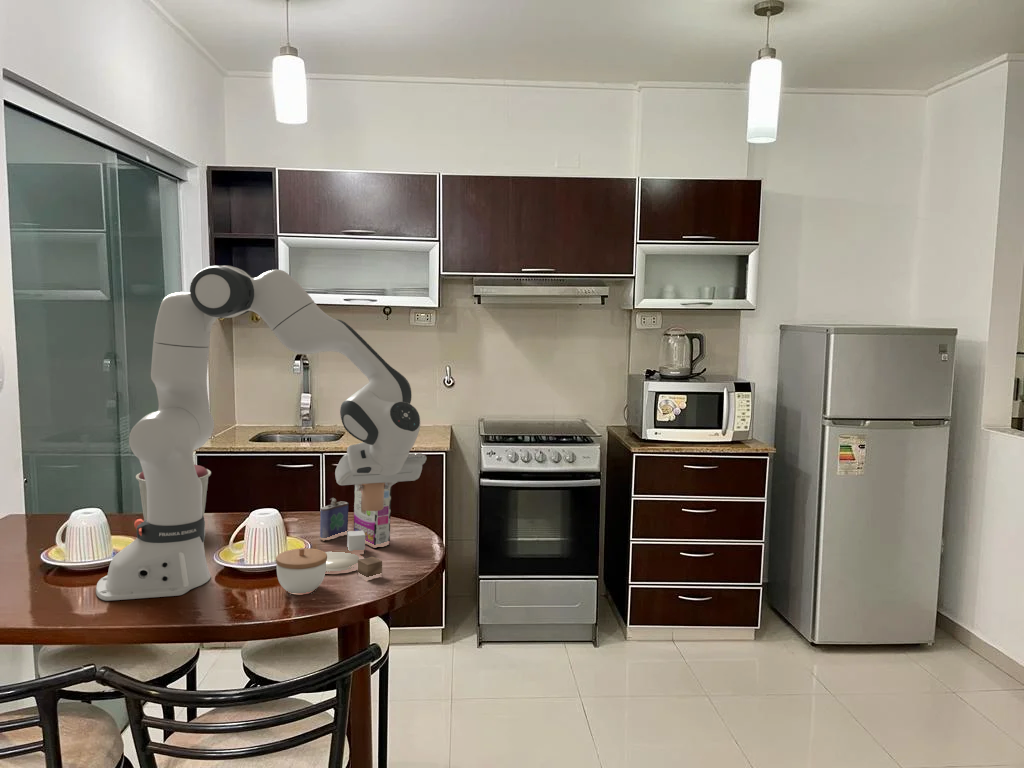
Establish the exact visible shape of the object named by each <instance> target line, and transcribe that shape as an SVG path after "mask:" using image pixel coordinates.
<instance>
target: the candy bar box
mask: <svg viewBox="0 0 1024 768" xmlns="http://www.w3.org/2000/svg"><path fill="white" fill-rule="evenodd" d="M361 495H362V491H356V488H355V487H354V495H353V497H354V498H353V500H354V501H353V502H354V503H353V504H354V505H353V507H354V508H353V531H364V533H365V540H366V541H368V542H370V543H372V544H374V545H376V544H381V543H384V542H387V541H390V542H391V512H392V511H391V509H392V507H391V506H392V502H391V501H392V486H391V487H390V489H384V508H383V509H382V510H379V511H366V510H363V509H361Z"/></svg>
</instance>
